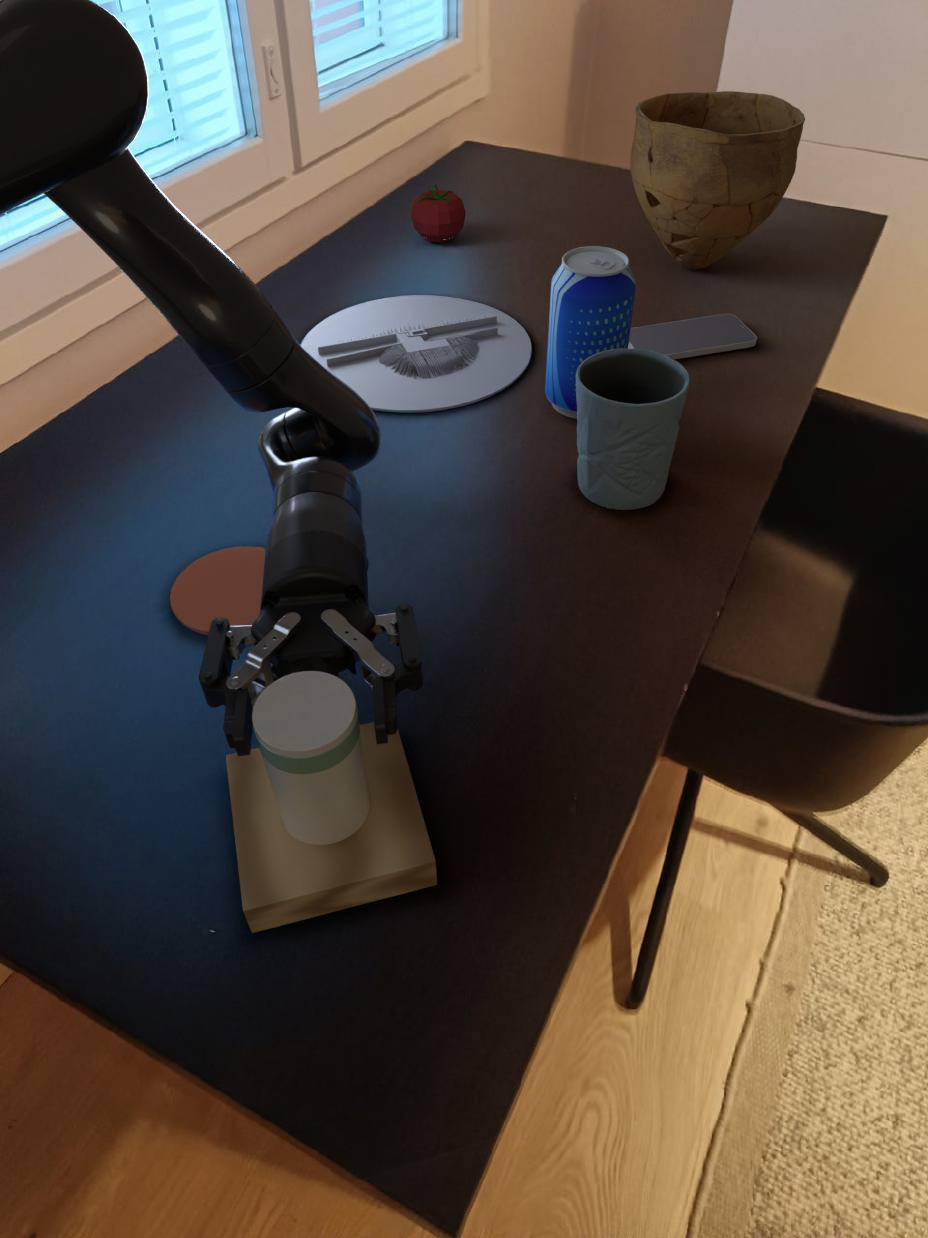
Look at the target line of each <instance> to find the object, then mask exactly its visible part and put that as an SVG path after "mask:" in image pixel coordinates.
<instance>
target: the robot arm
mask: <svg viewBox="0 0 928 1238" xmlns="http://www.w3.org/2000/svg"><path fill="white" fill-rule="evenodd" d="M149 94H150V93H149V74H148V71H147V67H146V61H145V59H144V56H143V53H142V52H141V49H140V47H139V45H138V43H137V42H136V40H135V39H134V37H133V36H132V34H131V33H130V31H129V30H128V29H127V27H126V26H125V25H124V24H123V23H122V22H121V21H120V20H119V19H118V18H117V17H116V16H115V15H113V13H111V12H110V11H109V10H108V9H105V8H104V7H103V6H101V5H100V4H98V3H96V2H94V1H92V0H0V216H2V215H4V214H6V213H8V212H10V211H11V210H13V209H15V208H18V207H19V206H21V205H24V204H25V203H28V202H29V201H31V200H33V199H35V198H38V197H39V196H41V195H44V196H46V197H47V198H48V199H49V200H50V201H51V202H52V203H53V204H55V206H56V207H58V208H59V209H60V210H61V211H62V212H63V213H64V214H65V215H66V216H67V217H68V218H70V219H71V221H73V223H74V224H76V225H77V227H79V228H80V229H81V230H82V231H83V233H85V234H86V235H87V236H88V237H89V238H90V239H91V240H92V241H93V242H94V243H95V244H96V245H97V246H98V248H100V249H101V250H102V251H103V252H104V254H105V255H106V256H107V257H108V258H109V259H110V260H111V261H112V262H113V263H114V264H115V265H116V266H117V268H119V269H120V270H121V271H122V272H123V273H124V275H125V276H126V277H128V279H129V280H130V281H131V282H132V283H133V284H134V286H135V287H136V288H137V289H138V290H139V291H140V292H141V293H142V294H143V296H145V297H146V299H147V300H148V301H149V303H151V304H152V305H153V306H154V308H155V309H156V310H157V311H158V313H159V314H160V315H161V316H162V317H163V318H164V319H165V320H166V322H167V323H168V324H169V325H170V326H171V328H172V329H173V330H174V331H175V333H176V334H177V335H178V336H179V337H180V339H182V341H183V342H184V343H185V345H187V347H188V348H189V350H191V352H192V353H193V354H194V356H195V357H196V358H197V359H198V360H199V362H200V363H201V364H202V366H203V367H204V368H205V370H207V371H208V373H209V374H210V375H211V376H212V378H213V379H214V381H216V382H217V383H218V385H219V387H221V389H223V391H224V393H226V394H227V396H228V397H229V399H231V400H232V401H233V402H234V404H236V405H237V406H238V407H239V408H240V409H242V410H244V411H245V412H248V413H255V414H259V413H266V412H271V411H272V412H273V411H277V410H283V409H289V410H287V411H285V412H283V413H281V414H278V415H276V416H274V417H273V418H271V420H269V421H268V422H266V424H265V425H264V426H263V427H262V429H261V431H260V432H259V435H258V437H257V442H256V449H257V453H258V457H259V460H260V463H261V465H262V467H263V469H264V471H265V473H266V476H267V479H268V480H267V481H268V482H269V486H270V490H271V494H272V498H273V499H272V509H271V510H272V511H271V519H270V520H271V521H270V527H269V529H268V532H267V535H266V543H265V549H266V550H265V561H264V573H263V584H262V596H261V607H260V614H259V616H258V618H257V619H256V620H255V621H254V622H253V624H252V625H247V626H230V625H229V621H228V619H227V618H224V617H218V618H215V619H214V620H213V621H212V622H211V625H210V629H209V633H208V635H207V638H206V642H205V647H204V652H203V656H202V660H201V665H200V669H199V674H198V681H199V684H200V687H201V690H202V693H203V696H204V698H205V702H206V705H207V706H208V707H210V708H219V707H221V706H225V708H224V716H223V725H222V729H223V733H224V735H225V738H226V742H227V744H228V746H229V748H230V749H235V753H237V755H238V756H246V755H250V753H251V750H252V741H253V740H252V739H253V730H254V728H253V722H252V712H253V708H254V705H255V703H256V700H257V699H258V697H259V695H260V694H261V693H262V692H263V691H264V690H265V689H266V688H267V687H268V686H269V685H270V684H272V683H273V682H275V681H276V680H278V679H280V678H282V677H284V676H287V675H290V674H293V673H297V672H303V671H318V672H324V673H328V674H331V675H334V676H336V677H340V673H343V672H346V673H347V674H348V675H349V677H351V678H352V679H353V680H354V681H356V682H357V683H358V684H359V685H360V686H362V687H365V686H366V687H367V688H369V690H371V691H372V701H373V702H372V703H373V722H374V726H375V734H376V742H377V744H386V743H388V735H393V734H396V732H397V729H398V730H399V718H398V717H399V716H398V703H397V697H398V695H399V694H400V693H401V692H403V691H405V690H409V691H411V692H415V691H416V692H417V691H419V690H421V689H422V688H423V687H424V675H423V669H422V666H423V657H422V653H421V647H420V641H419V636H418V630H417V624H416V618H415V612H414V606H412V604H410V603H408V602H401V603H399V604H397V605H396V606H395V608H394V611H395V612H392V613H391V612H390V613H384V614H377V615H376V614H374V613H373V612H372V610H371V609H370V605H369V602H370V601H369V580H368V579H369V578H368V570H369V559H368V555H367V554H368V552H367V550H368V549H367V540H366V536H365V531H364V527H363V503H362V502H363V501H362V491H361V486H360V483H359V480H358V478H357V476H356V474H355V473H354V472H355V471H357V470H359V469H361V468H364V467H365V466H367V465H369V464H370V463H371V462H373V461H374V460H375V459H376V457H377V456H378V454H379V453H380V450H381V446H382V431H381V427H380V423H379V421H378V418H377V416H376V415H375V413H374V410H372V409H371V408H370V407H369V405H368V404H367V403H366V402H365V401H364V400H363V399H362V398H361V396H360V395H358V394H357V393H356V392H355V391H354V390H353V389H352V388H350V387H349V386H348V385H347V384H345V383H344V382H343V381H341V380H340V379H339V378H337V377H336V376H335V375H333V374H332V373H331V372H330V371H328V370H327V369H326V368H325V367H323V366H322V365H321V364H320V363H319V362H318V361H316V360H315V359H314V358H313V357H312V356H311V355H310V354H308V353H307V352H306V351H305V350H304V349H303V348H302V347H301V343H299V342H298V340H297V339H296V337H295V336H294V335H293V333H292V331H290V329H289V327H288V326H287V325H286V324H285V322H284V321H283V320H282V318H281V317H280V315H279V314H278V313H277V311H276V309H275V308H274V307H273V305H272V304H271V302H270V301H269V300H268V298H267V297H266V296H265V294H264V293H263V292H262V291H261V289H260V288H259V286H258V285H256V283H255V282H254V281H253V280H252V279H251V278H250V277H249V275H248V274H247V273H246V272H245V271H244V270H243V269H242V268H241V267H240V266H239V265H238V264H237V263H236V262H234V260H233V259H231V257H230V256H228V255H227V254H226V253H225V252H224V251H223V250H222V249H221V248H220V247H219V246H218V245H217V244H216V243H215V242H213V240H211V239H210V238H209V237H208V236H207V235H206V234H205V233H204V232H202V231H201V230H200V229H199V228H198V227H197V226H196V225H195V224H194V223H193V222H192V221H190V219H189V218H187V216H186V215H185V214H184V213H183V212H181V211H180V209H178V207H176V206H175V205H174V204H173V202H172V201H171V200H170V199H169V198H168V197H167V196H166V194H165V193H164V192H163V191H162V190H161V189H160V188H159V187H158V185H156V183H155V182H154V181H153V179H152V178H151V177H150V175H148V173H147V172H146V171H145V170H144V168H143V167H142V165H141V164H140V162H139V161H138V160H137V159H136V157H135V156H134V154H133V153H132V151H131V150H130V148H129V147H130V145H131V144H132V143H133V142H134V141H135V139H136V138H137V136H138V134H139V132H140V131H141V130H140V129H141V128H142V126H143V123H144V121H145V118H146V114H147V109H148V103H149ZM377 635H383V636H384V637H386V641H387V642H388V643H390V644H392V647H394V648H398V647H399V654H400V659H401V661H398V662H395V663H391V662H390V661H389V660H388V659H387V658H386V657H384V655H382V654H381V653H380V652H378V650H377V649H376V647H375V645H374V644H373V642H374V641H375V639H376V637H377ZM249 645H253V646H254V647H252V648H251V650H249V651H248V653H247V655H246V659H245V661H244V663H242V664H241V665H240V666H239V667H238V668H237V669H236V670H235V671H234V672H232V667H233V663H234V661H238V660H240V658H241V655H242V653H243V651H244V649H245V648H246V647H248V646H249ZM271 665H272V666H271ZM231 672H232V674H231Z"/></svg>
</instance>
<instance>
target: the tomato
mask: <svg viewBox="0 0 928 1238" xmlns="http://www.w3.org/2000/svg"><path fill="white" fill-rule="evenodd" d="M434 188H435V189H427V191H425V192H422V193H421V194H420V195H418V196H417V197H416V198H415V199H414V200H413V203H412V207H411V212H410V213H411V214H410V219H411V222H412V225H413V226H412V227H413V229H414V230H415V231H416V232H417V233H418V234H419V236H421V238H423V237H425V238H423V239H424V240H426V241H428V242H433V243H442V242H449V241H452V240H454V239H455V238H456V237H457V236H458V235H459V233H460V232H461V231H462V230H463V229H464V227H465V221H466V216H467V215H466V208H465V205H464V202H463V199H462V198H461V197H459V196H458V195H457V194H456V193H455V192H454V191H452V190H448V189H447V190H444V189H438V185H437V184H434ZM454 236H455V237H454ZM452 237H453V238H452ZM426 238H427V239H426ZM449 238H450V239H449ZM443 239H446V240H443Z"/></svg>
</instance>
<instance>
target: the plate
mask: <svg viewBox="0 0 928 1238" xmlns="http://www.w3.org/2000/svg"><path fill="white" fill-rule="evenodd" d="M300 345H301V347H302V348H303V349H304V350H305V351H306V352H307V353H308V354H310V355H311V356H312V357H313V358H314V359H315V360H316V361H318V362H319V363H320V364H321V365H322V366H323V367H325V368H326V369H327V370H328V371H330V372H331V373H332V374H333V375H335V376H336V377H337V378H339V379H340V380H341V381H343V382H344V383H345V384H347V385H348V386H349V387H350V388H352V389H353V390H354V391H355V392H356V393H357V394H358V395H360V396H361V398H362V399H363V400H364V401H365V402H366V403H367V404H368V405H369V407H370V408H371V409H372V411H380V412H388V413H406V414H407V413H429V412H430V413H431V412H437V411H438V412H439V411H445V410H450V409H451V410H452V409H456V408H460V407H465V406H468V405H471V404H474V403H478V402H480V401H482V400H483V401H484V400H485V399H488V398H490V397H493V396H494V395H496V394H498V393H500V392H502V391H503V390H505V389H506V388H507V389H508V388H509V386H511V385H513V383H515V382H516V381H517V380H518V379H519V378H520V377H521V376H522V375H523V373H524V372H525V371H526V370H527V368H528V366H529V365H530V361H531V358H532V342H531V338H530V336H529V334H528V333H527V331H526V330H525V328H524V327H523V326H522V325H521V324H520V323H519V322H518V321H517V320H515V318H513V317H512V316H510V315H508V314H507V313H505V312H504V311H501V310H499V309H497V308H495V307H492V306H490V305H487V304H483V303H481V302H477V301H473V300H469V299H465V298H464V299H463V298H459V297H452V296H446V295H445V296H444V295H443V296H442V295H433V294H432V295H430V294H429V295H428V294H413V295H411V294H410V295H398V296H389V297H384V298H378V299H377V298H376V299H374V300H369V301H365V302H361V303H358V304H355V305H352V306H349V307H346V308H344V309H342V310H339V311H337V312H335V313H333V314H332V315H329V316H328V317H326V318H324V319H323V320H322V321H320V322H319V323H318V324H316V325H315V326H314V327H313V328H312V329H311V330H309V331H308V332H307V334H306V335H305V337H304V338H303V339H302V341H301V343H300Z"/></svg>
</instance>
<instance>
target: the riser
mask: <svg viewBox="0 0 928 1238" xmlns="http://www.w3.org/2000/svg"><path fill="white" fill-rule="evenodd" d="M360 734H361V740H362V747H363V753H364V760H365V766H366V772H367V779H368V785H369V792H370V798H371V805H370V811H369V814H368V816H367V818H366V820H365V822H364V823H363V825H362V826H361V827H360V828H359V829H358V830H357V831H356V832H355V833H354V834H352V835H351V836H350V837H348V838H346V839H344V840H342V841H340V842H337V843H334V844H329V845H311V844H307V843H303V842H301V841H299V840H297V839H295V838H294V837H292V836H291V835H290V834H289V833H288V832H287V831H286V830H285V828H284V826H283V825H282V822H281V819H280V816H279V812H278V809H277V806H276V802H275V799H274V795H273V792H272V788H271V785H270V781H269V778H268V774H267V771H266V768H265V764H264V761H263V757H262V754H261V752H260V749H259V747H257V748H256V747H255V748H251V753H250V755H246V756H238V755H237V752H234V753H230V754H226V755H225V761H226V773H227V780H228V790H229V796H230V797H229V798H230V806H231V815H232V824H233V833H234V843H235V853H236V860H237V861H236V862H237V869H238V878H239V888H240V896H241V905H242V906H241V907H242V912H243V914H244V917H245V920H246V922H247V924H248V927H249V929H250V932H251V934H255V933H258V932H261V931H266V930H271V929H274V928H278V927H281V926H286V925H288V924H293V923H297V922H300V921H305V920H309V919H312V918H315V917H320V916H323V915H327V914H331V913H335V912H339V911H343V910H347V909H350V908H353V907H357V906H362V905H365V904H370V903H372V902H377V901H380V900H381V901H382V900H384V899H388V898H389V899H390V898H392V897H397V896H400V895H403V894H407V893H411V892H415V891H418V890H424V889H426V888H430V887H434V886H437V885H438V874H437V860H436V857H435V854H434V850H433V846H432V843H431V840H430V836H429V833H428V829H427V825H426V823H425V819H424V815H423V812H422V809H421V805H420V802H419V798H418V794H417V791H416V788H415V783H414V781H413V780H414V779H413V777H412V773H411V771H410V766H409V763H408V760H407V756H406V752H405V749H404V747H403V746H404V745H403V742H402V738H401V735H400V732H399V728H398V729H397V732H396V734H393V735H388V743H386V744H377V742H376V734H375V726H374V721H372V722H368V723H363V724H360Z"/></svg>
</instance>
